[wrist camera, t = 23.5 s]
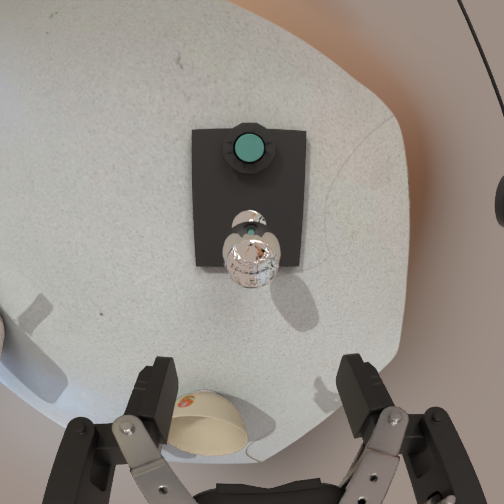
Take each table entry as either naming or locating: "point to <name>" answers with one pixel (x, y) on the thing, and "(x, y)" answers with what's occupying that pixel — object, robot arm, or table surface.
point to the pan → (1, 335)
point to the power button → (249, 147)
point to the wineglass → (251, 251)
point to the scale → (247, 188)
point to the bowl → (207, 425)
